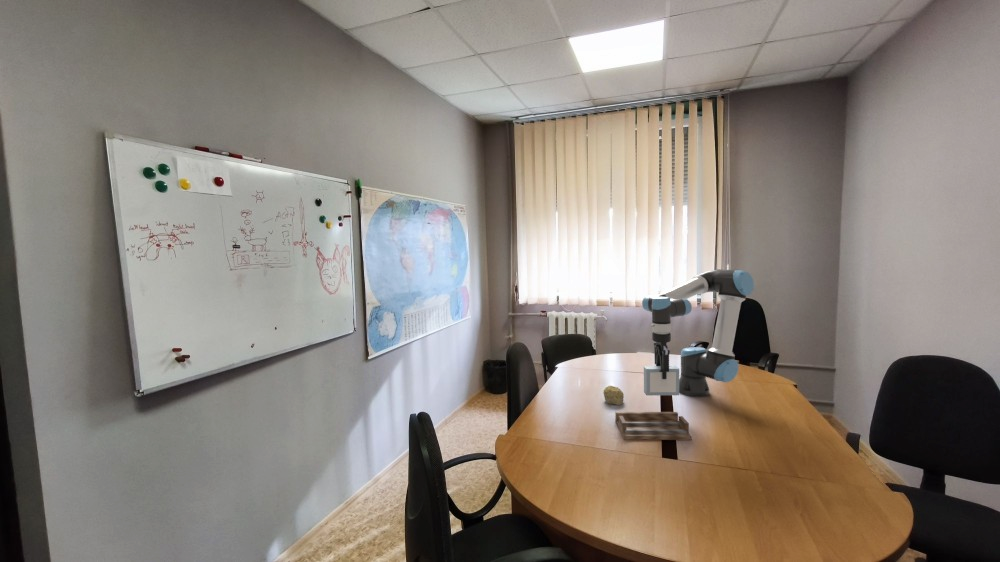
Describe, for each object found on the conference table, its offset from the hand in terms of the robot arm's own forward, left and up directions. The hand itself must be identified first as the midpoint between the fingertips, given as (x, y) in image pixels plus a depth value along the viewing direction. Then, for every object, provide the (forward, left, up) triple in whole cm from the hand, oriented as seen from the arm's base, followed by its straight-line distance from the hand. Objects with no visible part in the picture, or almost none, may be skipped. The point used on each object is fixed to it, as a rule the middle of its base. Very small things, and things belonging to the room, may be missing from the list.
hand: (661, 383), depth 173 cm
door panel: (0, 0, -5) cm, 5 cm away
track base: (+8, +13, -15) cm, 22 cm away
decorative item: (+18, -16, -15) cm, 29 cm away
